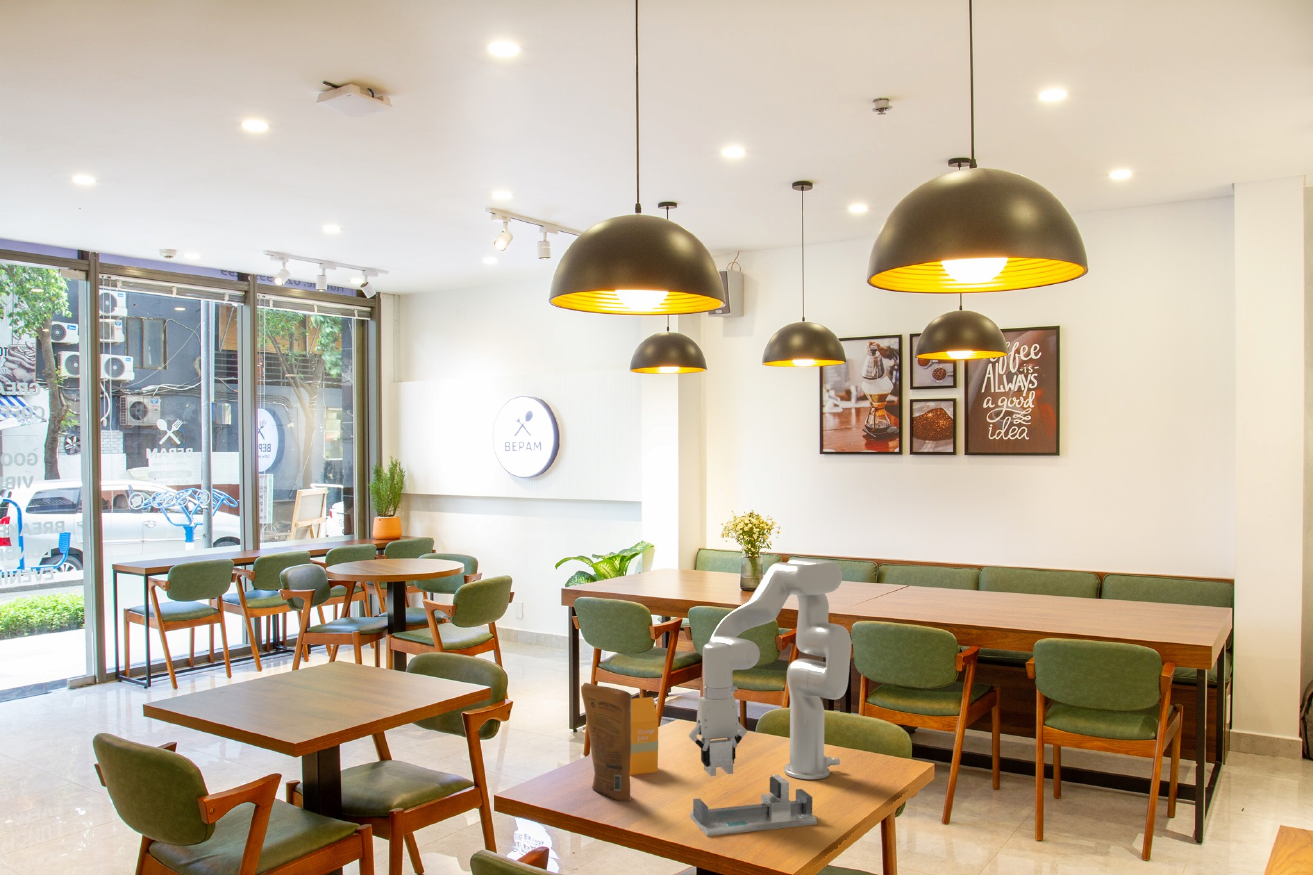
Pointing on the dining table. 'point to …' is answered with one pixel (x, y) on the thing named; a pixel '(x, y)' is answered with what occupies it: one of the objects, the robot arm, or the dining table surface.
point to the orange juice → (644, 736)
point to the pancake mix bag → (609, 738)
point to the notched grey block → (720, 756)
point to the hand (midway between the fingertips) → (718, 762)
